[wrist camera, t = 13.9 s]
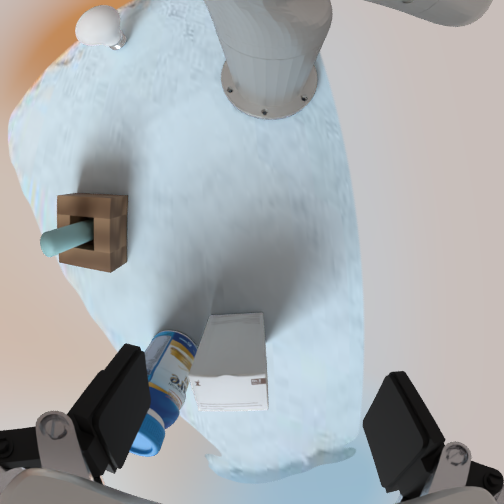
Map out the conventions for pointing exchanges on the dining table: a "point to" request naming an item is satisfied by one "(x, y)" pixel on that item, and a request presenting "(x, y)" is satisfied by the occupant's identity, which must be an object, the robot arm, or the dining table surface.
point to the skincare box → (231, 364)
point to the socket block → (96, 229)
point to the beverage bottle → (164, 387)
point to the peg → (67, 237)
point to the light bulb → (100, 28)
